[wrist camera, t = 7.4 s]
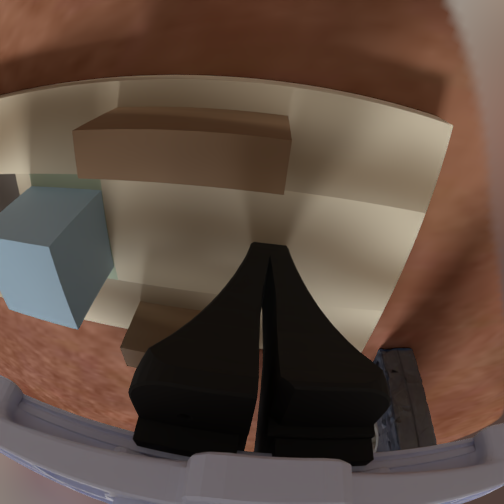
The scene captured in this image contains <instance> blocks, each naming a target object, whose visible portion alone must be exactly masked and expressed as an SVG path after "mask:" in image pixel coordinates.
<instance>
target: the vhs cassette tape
mask: <svg viewBox="0 0 504 504" xmlns="http://www.w3.org/2000/svg"><path fill="white" fill-rule="evenodd" d="M373 363H375V364H376V365H377V366H378V367H380V368H381V369H382V370H383V372H384V375H385V378H386V380H387V384H388V387H389V391H390V397H391V405H390V407H389V408H388V410H387V411H386V412H385V413H384V414H383V415H382V417H381V418H380V419H379V420H378V421H377V422H376V423H375V424H374V429H375V436H374V437H373V438H372V446H373V453H377V452H388V451H398V450H406V449H414V448H421V447H427V446H433V445H437V444H436V437H435V434H434V428H433V425H432V421H431V416H430V411H429V408H428V404H427V402H426V396H425V392H424V388H423V385H422V379H421V377H420V373H419V371H418V366H417V362H416V359H415V356H414V353H413V350H412V349H411V348H394V349H389V350H388V349H385V350H383V349H379V350H378V352H377V355H376V357H375V359H374V361H373Z"/></svg>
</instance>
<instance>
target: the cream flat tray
mask: <svg viewBox="0 0 504 504" xmlns="http://www.w3.org/2000/svg"><path fill="white" fill-rule="evenodd" d="M452 128H453V125H451V124H450V123H448V122H446V121H444V120H443V119H441V118H439V117H437V116H435V115H432V114H429V113H426V112H422V111H419V110H416V109H412V108H409V107H405V106H402V105H398V104H395V103H391V102H387V101H383V100H379V99H375V98H371V97H367V96H362V95H358V94H353V93H348V92H343V91H338V90H333V89H328V88H322V87H316V86H310V85H304V84H297V83H290V82H282V81H274V80H265V79H254V78H243V77H229V76H209V75H144V76H125V77H111V78H100V79H90V80H82V81H74V82H66V83H60V84H53V85H47V86H42V87H36V88H31V89H26V90H21V91H17V92H12V93H8V94H3V95H0V212H1V211H3V210H4V209H5V208H6V207H7V206H8V205H9V204H11V203H12V202H13V201H14V200H15V199H16V198H18V197H19V196H20V195H21V194H22V193H24V192H25V191H26V190H27V189H28V188H30V187H31V186H39V187H58V188H75V189H91V190H101V192H102V199H103V207H104V214H105V220H106V226H107V232H108V238H109V244H110V249H111V255H112V260H113V265H114V267H113V269H112V271H111V272H110V274H109V276H108V277H107V279H106V281H105V282H104V284H103V286H102V288H101V289H100V291H99V293H98V295H97V296H96V298H95V300H94V302H93V303H92V305H91V307H90V309H89V311H88V312H87V314H86V316H85V318H84V320H89V321H93V322H97V323H102V324H107V325H111V326H116V327H121V328H126V329H128V330H127V333H126V335H125V337H124V340H123V342H122V345H121V347H120V348H121V351H122V354H123V356H124V359H125V362H126V364H127V366H131V367H135V368H137V367H138V365H139V363H140V361H141V359H142V357H143V356H144V354H145V352H146V351H147V349H148V348H149V347H151V346H153V345H154V344H156V343H158V342H160V341H161V340H163V339H165V338H166V337H168V336H170V335H171V334H173V333H174V332H175V331H177V330H178V329H180V328H181V327H182V326H184V325H185V324H186V323H188V322H189V321H190V320H192V319H193V318H194V317H195V316H196V315H198V314H199V313H200V312H201V311H202V310H203V309H204V308H205V307H206V306H207V305H208V304H209V303H210V302H211V301H212V300H213V299H214V298H215V297H216V296H217V295H218V294H219V293H220V292H221V290H222V289H223V288H224V287H225V286H226V284H227V283H228V282H229V280H230V279H231V278H232V277H233V275H234V274H235V272H236V271H237V269H238V268H239V266H240V265H241V263H242V261H243V260H244V258H245V256H246V254H247V252H248V250H249V247H250V244H251V243H253V242H260V243H269V244H277V245H286V246H287V247H288V248H289V251H290V254H291V257H292V259H293V262H294V264H295V266H296V268H297V270H298V272H299V274H300V276H301V278H302V280H303V282H304V284H305V285H306V287H307V289H308V291H309V292H310V294H311V295H312V297H313V299H314V300H315V302H316V303H317V305H318V306H319V308H320V309H321V310H322V312H323V313H324V314H325V316H326V317H327V318H328V319H329V321H330V322H331V323H332V324H333V326H334V327H335V328H336V329H337V330H338V331H339V332H340V333H341V334H342V335H343V336H344V337H345V338H346V339H347V340H348V341H349V342H350V343H351V344H352V345H353V346H354V347H355V348H356V349H357V350H358V351H359V352H362V350H363V349H364V347H365V345H366V343H367V341H368V339H369V337H370V336H371V334H372V332H373V330H374V328H375V326H376V324H377V322H378V320H379V318H380V316H381V314H382V312H383V310H384V308H385V306H386V304H387V302H388V300H389V298H390V296H391V294H392V292H393V290H394V288H395V285H396V283H397V281H398V279H399V277H400V274H401V272H402V270H403V268H404V265H405V263H406V261H407V259H408V256H409V254H410V251H411V249H412V247H413V244H414V242H415V239H416V237H417V234H418V232H419V229H420V227H421V224H422V221H423V219H424V216H425V214H426V211H427V208H428V205H429V203H430V200H431V197H432V194H433V191H434V188H435V185H436V182H437V179H438V176H439V173H440V170H441V167H442V163H443V160H444V157H445V153H446V150H447V147H448V143H449V139H450V136H451V132H452ZM0 297H3V296H2V294H1V291H0ZM259 349H263V336H262V309H261V316H260V339H259Z"/></svg>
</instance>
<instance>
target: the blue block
mask: <svg viewBox="0 0 504 504" xmlns="http://www.w3.org/2000/svg"><path fill="white" fill-rule="evenodd" d="M113 267H114V265H113V260H112V255H111V249H110V244H109V238H108V232H107V226H106V220H105V214H104V207H103V199H102V192H101V190H91V189H75V188H58V187H39V186H31V187H30V188H28V189H27V190H26V191H25V192H24V193H22V194H21V195H20V196H19V197H18V198H16V199H15V200H14V201H13V202H12V203H11V204H9V205H8V206H7V207H6V208H5V209H4V210H3V211H1V212H0V291H1V294H2V296H3V298H4V300H5V302H6V304H7V306H8V308H9V309H10V310H13V311H16V312H19V313H22V314H25V315H29V316H32V317H35V318H38V319H42V320H45V321H49V322H52V323H55V324H59V325H63V326H66V327H70V328H74V329H77V330H78V329H79V327H80V325H81V324H82V322H83V320H84V318H85V316H86V314H87V312H88V311H89V309H90V307H91V305H92V303H93V302H94V300H95V298H96V296H97V295H98V293H99V291H100V289H101V288H102V286H103V284H104V282H105V281H106V279H107V277H108V276H109V274H110V272H111V271H112V269H113Z"/></svg>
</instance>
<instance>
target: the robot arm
mask: <svg viewBox="0 0 504 504" xmlns="http://www.w3.org/2000/svg"><path fill="white" fill-rule="evenodd" d="M261 309H262V336H263V368H262V379H261V391H260V401H259V411H258V421H257V431H256V440H255V448H254V452H247V451H244V449H245V445H246V440H247V436H248V434H249V430H250V426H251V422H252V417H253V413H254V409H255V404H256V400H257V393H258V379H259V339H260V316H261ZM128 392H129V397H130V399H131V401H132V403H133V405H134V407H135V410H136V412H137V414H138V416H139V417H138V421H137V424H136V428H135V432H132V431H128V430H124V429H121V428H117V427H114V426H110V425H107V424H103V423H100V422H97V421H94V420H91V419H87V418H84V417H81V416H78V415H76V414H73V413H70V412H67V411H64V410H62V409H59V408H56V407H54V406H51V405H49V404H46V403H44V402H41V401H39V400H36V399H34V398H31V397H29V396H27V395H25V394H23V392H22V391H21V389H20V388H19V387H18V386H17V385H16V384H15V383H14V382H12V381H11V380H9V379H7V378H5V377H3V376H1V375H0V453H2V454H3V455H5V456H7V457H9V458H10V459H12V460H14V461H16V462H17V463H19V464H21V465H23V466H25V467H27V468H29V469H31V470H32V471H34V472H36V473H38V474H40V475H42V476H44V477H46V478H48V479H50V480H52V481H55V482H57V483H59V484H61V485H63V486H66V487H68V488H70V489H72V490H75V491H77V492H79V493H82V494H84V495H87V496H89V497H92V498H95V499H97V500H100V501H103V502H106V503H109V504H462V503H465V502H468V501H471V500H474V499H476V498H479V497H481V496H484V495H486V494H488V493H490V492H492V491H494V490H496V489H498V488H500V487H502V486H504V423H501V424H497V425H493V426H489V427H487V428H485V429H483V430H481V431H480V432H479V433H477V434H476V435H475V436H474V437H473V438H469V439H464V440H460V441H455V442H450V443H445V444H439V445H433V446H427V447H421V448H414V449H406V450H398V451H388V452H377V453H373V446H372V438H373V437H374V436H375V429H374V424H375V423H376V422H377V421H378V420H379V419H380V418H381V417H382V415H383V414H384V413H385V412H386V411H387V410H388V408H389V407H390V405H391V397H390V391H389V387H388V384H387V380H386V378H385V375H384V372H383V370H382V369H381V368H380V367H378V366H377V365H376V364H375V363H373V362H372V361H371V360H369V359H368V358H367V357H365V356H364V355H363V354H362V353H361V352H359V351H358V350H357V349H356V348H355V347H354V346H353V345H352V344H351V343H350V342H349V341H348V340H347V339H346V338H345V337H344V336H343V335H342V334H341V333H340V332H339V331H338V330H337V329H336V328H335V327H334V326H333V324H332V323H331V322H330V321H329V319H328V318H327V317H326V316H325V314H324V313H323V312H322V310H321V309H320V308H319V306H318V305H317V303H316V302H315V300H314V299H313V297H312V295H311V294H310V292H309V291H308V289H307V287H306V285H305V284H304V282H303V280H302V278H301V276H300V274H299V272H298V270H297V268H296V266H295V264H294V262H293V259H292V257H291V254H290V251H289V248H288V247H287V246H286V245H277V244H269V243H260V242H253V243H251V244H250V247H249V250H248V252H247V254H246V256H245V258H244V260H243V261H242V263H241V265H240V266H239V268H238V269H237V271H236V272H235V274H234V275H233V277H232V278H231V279H230V280H229V282H228V283H227V284H226V286H225V287H224V288H223V289H222V290H221V292H220V293H219V294H218V295H217V296H216V297H215V298H214V299H213V300H212V301H211V302H210V303H209V304H208V305H207V306H206V307H205V308H204V309H203V310H202V311H201V312H200V313H199V314H198V315H196V316H195V317H194V318H193V319H192V320H190V321H189V322H188V323H186V324H185V325H184V326H182V327H181V328H180V329H178V330H177V331H175V332H174V333H173V334H171V335H170V336H168V337H166V338H165V339H163V340H161V341H160V342H158V343H156V344H154V345H153V346H151V347H149V348H148V349H147V351H146V352H145V354H144V356H143V357H142V359H141V361H140V363H139V365H138V367H137V369H136V371H135V373H134V376H133V379H132V382H131V385H130V388H129V391H128Z"/></svg>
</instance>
